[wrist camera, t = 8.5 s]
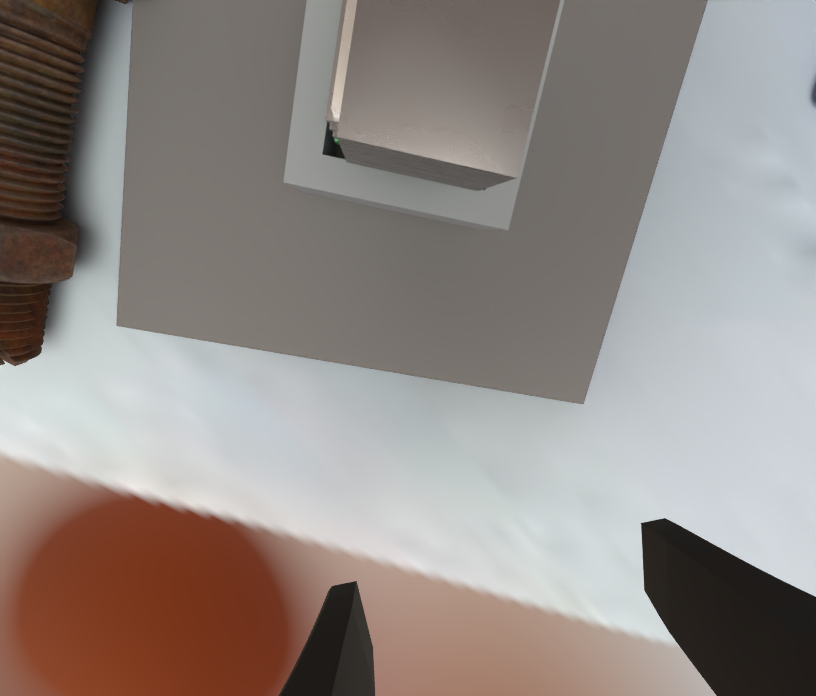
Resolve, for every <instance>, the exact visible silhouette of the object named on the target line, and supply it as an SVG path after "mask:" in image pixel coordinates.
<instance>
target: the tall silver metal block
mask: <svg viewBox="0 0 816 696" xmlns="http://www.w3.org/2000/svg"><path fill="white" fill-rule="evenodd" d="M559 4H560V0H342V7H341V14H340V21H339V28H338V35H337V42H336V49H335V55H334V62H333V69H332V76H331V83H330V90H329V97H328V104H327V111H326V118H325V120H326V121H327V122H330V126H329V129H330V130H331V131H333V138H335V143H336V144H338V145H340V147H341V149H342V152H343V154H344V157H345V160H346V162H347V163H352V164H356V165H361V166H365V167H370V168H374V169H379V170H383V171H388V172H392V173H397V174H401V175H406V176H410V177H415V178H419V179H424V180H428V181H433V182H437V183H442V184H446V185H451V186H455V187H460V188H464V189H469V190H474V191H480V190H483V189H486V188H489V187H492V186H495V185H498V184H501V183H504V182H507V181H510V180H513V179H516V178H517V177H518V173H519V169H520V165H521V161H522V157H523V153H524V149H525V144H526V140H527V136H528V132H529V128H530V124H531V120H532V115H533V111H534V107H535V103H536V99H537V95H538V91H539V87H540V82H541V78H542V74H543V70H544V66H545V62H546V58H547V53H548V49H549V45H550V41H551V37H552V33H553V29H554V25H555V20H556V16H557V12H558V8H559Z"/></svg>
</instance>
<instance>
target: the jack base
mask: <svg viewBox="0 0 816 696" xmlns="http://www.w3.org/2000/svg"><path fill="white" fill-rule="evenodd" d="M707 1H708V0H560V4H559V8H558V12H557V16H556V20H555V25H554V29H553V33H552V37H551V41H550V45H549V49H548V53H547V58H546V62H545V66H544V70H543V74H542V78H541V82H540V87H539V91H538V95H537V99H536V103H535V107H534V111H533V115H532V120H531V124H530V128H529V132H528V136H527V140H526V144H525V149H524V153H523V157H522V161H521V165H520V169H519V173H518V177H517V178H516V179H513V180H510V181H507V182H504V183H501V184H498V185H495V186H492V187H489V188H486V189H483V190H480V191H474V190H469V189H464V188H460V187H455V186H451V185H446V184H442V183H437V182H433V181H428V180H424V179H419V178H415V177H410V176H406V175H401V174H397V173H392V172H388V171H383V170H379V169H374V168H370V167H365V166H361V165H356V164H352V163H347V162H346V160H345V157H344V154H343V152H342V149H341V147H340V145H338V144H336V143H335V138H333V131H331V130H330V129H329V126H330V122H327V121H326V120H325V118H326V111H327V104H328V97H329V90H330V83H331V76H332V69H333V62H334V55H335V49H336V42H337V35H338V28H339V21H340V14H341V7H342V0H133V12H132V32H131V51H130V71H129V90H128V110H127V130H126V149H125V169H124V188H123V208H122V228H121V247H120V267H119V286H118V306H117V326H121V327H127V328H133V329H139V330H144V331H150V332H156V333H162V334H168V335H174V336H180V337H186V338H192V339H198V340H204V341H210V342H216V343H222V344H228V345H234V346H240V347H246V348H252V349H257V350H263V351H269V352H275V353H281V354H287V355H293V356H299V357H305V358H311V359H317V360H323V361H329V362H335V363H341V364H347V365H353V366H359V367H364V368H370V369H376V370H382V371H388V372H394V373H400V374H406V375H412V376H418V377H424V378H430V379H436V380H442V381H448V382H454V383H460V384H466V385H471V386H477V387H483V388H489V389H495V390H501V391H507V392H513V393H519V394H525V395H531V396H537V397H543V398H549V399H555V400H561V401H567V402H573V403H578V404H584V401H585V397H586V394H587V391H588V388H589V384H590V381H591V378H592V375H593V371H594V368H595V365H596V362H597V358H598V355H599V352H600V349H601V345H602V342H603V339H604V336H605V332H606V329H607V326H608V323H609V319H610V316H611V313H612V310H613V306H614V303H615V300H616V297H617V293H618V290H619V287H620V284H621V280H622V277H623V274H624V271H625V267H626V264H627V261H628V258H629V254H630V251H631V248H632V245H633V241H634V238H635V235H636V232H637V228H638V225H639V222H640V219H641V215H642V212H643V209H644V206H645V202H646V199H647V196H648V193H649V189H650V186H651V183H652V180H653V176H654V173H655V170H656V167H657V163H658V160H659V157H660V154H661V150H662V147H663V144H664V141H665V137H666V134H667V131H668V128H669V124H670V121H671V118H672V115H673V111H674V108H675V105H676V102H677V98H678V95H679V92H680V89H681V85H682V82H683V79H684V76H685V72H686V69H687V66H688V63H689V59H690V56H691V53H692V50H693V46H694V43H695V40H696V37H697V33H698V30H699V27H700V24H701V20H702V17H703V14H704V11H705V7H706V4H707Z"/></svg>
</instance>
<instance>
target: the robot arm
mask: <svg viewBox="0 0 816 696" xmlns="http://www.w3.org/2000/svg"><path fill="white" fill-rule="evenodd" d="M641 528H642V548H643V569H644V590H645V592H646V594H647V595H648V597H649V599H650V601H651V602H652V604H653V606H654V608H655V609H656V611H657V613H658V614H659V616H660V618H661V619H662V621H663V623H664V624H665V626H666V627H667V629H668V631H669V632H670V634H671V635H672V636H673V638H674V639H675V641H676V642H677V643H678V645H679V646H680V647H681V649H682V650H683V651H684V653H685V654H686V655H687V657H688V658H689V659H690V661H691V662H692V663H693V665H694V666H695V667H696V669H697V670H698V671H699V673H700V674H701V675H702V677H703V678H704V679H705V681H706V682H707V683H708V685H709V686H710V687H711V689H712V690H713V691H714V693H715V694H716V695H717V696H816V597H815V596H813V595H811V594H808V593H806V592H804V591H802V590H800V589H798V588H796V587H794V586H792V585H790V584H788V583H786V582H784V581H782V580H780V579H778V578H776V577H774V576H772V575H770V574H768V573H766V572H764V571H762V570H760V569H758V568H756V567H754V566H752V565H750V564H749V563H747V562H745V561H743V560H741V559H739V558H737V557H735V556H734V555H732V554H730V553H728V552H726V551H724V550H723V549H721V548H719V547H717V546H715V545H713V544H712V543H710V542H708V541H706V540H704V539H703V538H701V537H699V536H697V535H695V534H694V533H692V532H690V531H688V530H686V529H684V528H683V527H681V526H679V525H677V524H675V523H673V522H671V521H669V520H667V519H665V518H664V519H659V520H654V521H649V522H644V523H641ZM374 683H375V682H374V662H373V646H372V642H371V638H370V634H369V630H368V626H367V622H366V618H365V614H364V610H363V606H362V602H361V598H360V594H359V589H358V585H357V581H355V582H351V583H345V584H340V585H335V586H332V587H331V588H330V590H329V591H328V594H327V596H326V599H325V601H324V603H323V606H322V608H321V611H320V613H319V615H318V618H317V620H316V622H315V625H314V627H313V629H312V631H311V633H310V636H309V638H308V640H307V642H306V644H305V646H304V648H303V650H302V652H301V654H300V656H299V658H298V661H297V662H296V664H295V666H294V668H293V670H292V672H291V674H290V676H289V678H288V680H287V682H286V683H285V685H284V687H283V689H282V691H281V693H280V695H279V696H375V684H374Z"/></svg>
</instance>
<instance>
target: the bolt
mask: <svg viewBox="0 0 816 696" xmlns="http://www.w3.org/2000/svg"><path fill="white" fill-rule="evenodd" d="M115 1H118V2H121V3H123V4H126V3H127V1H128V0H115ZM96 6H97V0H0V365H3V364H5V363H4V361H6V362H8V363H10V364H12V365H14V366H16V365H19V364H22V363H25V362H27V361H28V360H29V359H32V358H34V357H36V356H38V355H39V354H40V353H41V350H42V347H41V345H42V344H43V342H44V341H43V336H44V334H45V333H44V329H45V321H46V318H47V316H46V315H45V314H46V313H47V311H48V308H47V305H48V304H49V299H48V297H49V295H50V291H49V290H48V289H49V288H51V283H55V282H61V281H64V280H66V279H69V278H70V277H72V275H73V270H74V264H75V258H76V251H77V245H78V237H79V228H78V226H76V225H75V224H74V223H72V222H71V221H69V220H67V219H64V218H62V215H61V214H60V213H59V212H58V211H57V210H60V209H63V205H62V204H61V203H60V202H59V201H61V200H64V199H65V197H64V196H63V195H62V194H61V193H60V192H61V191H64V190H66V188H65V186H64V185H63V184H62V183H61V182H64V181H67V178H66V176H65V175H63V174H62V172H66V171H68V168H67V167H66V166H65V165H64V164H63V163H65V162H68V161H70V159H69V158H68V157H67V156H65V155H64V154H65V153H68V152H71V149H70V148H69V147H67V146H66V145H65V144H69V143H72V142H73V140H72V139H71V138H70V137H69V136H67V135H68V134H72V133H74V130H73V129H72V128H71V127H70V126H69V125H70V124H73V123H76V120H75V119H73V118H72V117H71V116H70V115H71V114H73V113H77V110H76V109H75V108H74V107H72V106H71V104H75V103H79V100H78V99H77V98H75V97H74V96H73V94H75V93H80V89H79V88H77V87H76V86H75V85H74V84H75V83H80V82H82V79H81V78H79V77H78V76H77V75H76V73H80V72H83V68H81V67H80V66H79V65H78V64H77V63H79V62H85V58H84V57H83V56H82V55H81V54H80V53H81V52H84V51H86V49H87V42H88V40H89V39H90V38H91V37H92V31H93V25H94V19H95V12H96ZM3 360H4V361H3Z"/></svg>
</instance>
